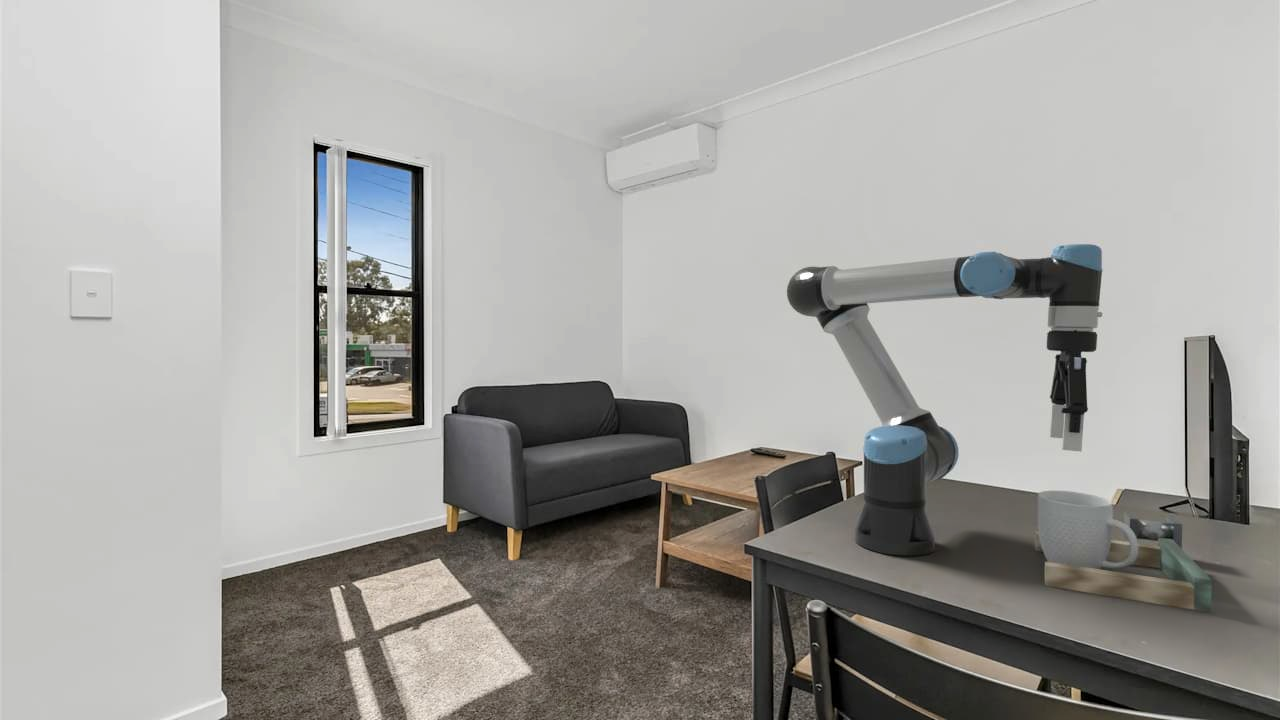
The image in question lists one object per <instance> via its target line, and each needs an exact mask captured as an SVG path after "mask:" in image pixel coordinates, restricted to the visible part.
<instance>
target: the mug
mask: <svg viewBox="0 0 1280 720" xmlns="http://www.w3.org/2000/svg"><path fill="white" fill-rule="evenodd" d="M1113 504H1114V503H1113V501H1111V500H1110V499H1108V498H1105V497H1102V496H1098V495H1095V494H1089V493H1085V492H1078V491H1070V490H1069V491H1068V490H1044V491H1040V492H1039V493H1038V494H1037V531H1038V532H1039V539H1040V544H1041V547H1042V550H1043V552H1042V553H1043V554H1044V556H1045V559H1046V560H1047V562H1052V563H1059V564H1066V565H1073V566H1080V567H1087V568H1093V569H1100V570H1101V568H1111V569H1122V568H1125V567H1129V566H1130V565H1133V564H1132V563H1133V562H1134V561H1135V559H1136V557H1137V555H1138V543H1139V542H1138V540H1137V538H1136V536H1135V534H1134V532H1133V531H1132V529H1131V528H1130V527H1128V526H1127V525H1126V524H1124V522H1122V521H1120V520H1117V519H1114V514H1113V513H1114V512H1113V509H1114V507H1113V506H1114V505H1113ZM1114 527H1116V528H1117V529H1120V530H1121V531H1123V533H1124V532H1125V534H1126V535H1127V537H1128V539H1129V542H1130V553H1129V556H1128V558H1127V559H1126V560H1124V561H1122V562H1113V561H1106V558H1107V555H1108V552H1109V549H1110V544H1111V540H1113V538H1112V537H1113V528H1114Z"/></svg>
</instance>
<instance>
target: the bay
mask: <svg viewBox="0 0 1280 720" xmlns="http://www.w3.org/2000/svg"><path fill="white" fill-rule="evenodd" d="M1034 532H1035V533H1034V550H1035V551H1036V552H1042V553H1044V552H1043V550H1042V547H1041V544H1040V539H1039V532H1038V529H1037V530H1034ZM1157 545H1158V546H1156V544H1150V545H1148V543H1142V544H1140V542H1138V555H1137V557H1136V559H1135V561H1134V562H1133V563H1132V564H1131V565H1136V566H1143V567H1149V568H1157V569H1160V570H1161V571H1162V572H1163V573H1164V575H1165V576H1166V577H1167V578H1160V577H1154V576H1149V575H1147V576H1146V575H1140V574H1133V573H1127V572H1121V571H1113V570H1112V571H1111V570H1106V569H1101V568H1100V569H1093V568H1087V567H1080V566H1073V565H1066V564H1059V563H1052V562H1048V561H1044V581H1043V582H1044V585H1045V587H1051V588H1058V589H1065V590H1071V591H1075V592H1081V593H1082V592H1083V593H1089V594H1095V595H1100V596H1101V595H1102V596H1106V597H1107V596H1108V597H1112V598H1113V597H1114V598H1119V599H1126V600H1132V601H1139V602H1143V603H1144V602H1145V603H1151V604H1157V605H1162V606H1169V607H1176V608H1181V609H1188V610H1194V611H1198V612H1199V611H1201V612H1206V613H1211V611H1212V588H1213V587H1212V586H1213V585H1212V583H1213V581H1212V578H1210V576H1209V575H1207V573H1205V572H1204V571H1203V569H1202V568H1201V567H1200V566H1199V565H1198V564H1197V563H1196V562H1195V561H1194V560H1193V559H1192V558H1191V557H1190V556H1189V554H1187V552H1185V551H1184V550H1183V549H1181V548H1180V547H1179V546H1178V545H1177V544H1176V543H1175V542H1174V541H1173V540H1172V539H1165V538H1158V541H1157ZM1129 553H1130V542H1124V540H1115V539H1112V540H1111V544H1110V549H1109V552H1108V555H1107V558H1106V561H1109V562H1114V563H1118V562H1122V561H1124V560H1126V559H1127V558H1128V556H1129Z"/></svg>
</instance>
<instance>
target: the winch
mask: <svg viewBox="0 0 1280 720" xmlns="http://www.w3.org/2000/svg"><path fill="white" fill-rule="evenodd" d="M1123 514H1124V515H1123V523H1124V524H1126V525H1127V526H1128V527H1130V528H1131V529H1132V531H1133V532H1134V534H1135V536H1136V538H1137V541H1138V540H1145V541H1153V542H1158V538H1165V539H1172V540H1173V541H1174V542H1175V543H1176V544H1177V545H1178V546H1179V547H1180V548H1181V549H1182V548H1183V523H1181V521H1180V520H1178V519H1177V518H1176V517H1175V516H1167V515H1166V516H1165V522H1164V521H1163V522H1162V521H1154V520H1145V519H1138V518H1137V516H1136V515H1135V514H1134V513H1133V512H1131V511H1124V513H1123ZM1123 541H1124V542H1129V539H1128V537H1127V535H1126V534H1125V532H1124V531H1123ZM1139 543H1140V542H1139ZM1140 544H1143V543H1142V542H1141V543H1140ZM1147 544H1148V543H1147ZM1148 545H1151V544H1148ZM1155 545H1156V544H1155ZM1156 546H1158V544H1157V545H1156ZM1182 550H1183V549H1182Z"/></svg>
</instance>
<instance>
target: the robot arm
mask: <svg viewBox="0 0 1280 720" xmlns="http://www.w3.org/2000/svg"><path fill="white" fill-rule="evenodd" d="M1102 254H1103V250H1102V248H1101V247H1100V246H1098V245H1096V244H1092V243H1091V244H1090V243H1089V244H1088V243H1077V244H1075V243H1074V244H1067V245H1062V244H1061V245H1058V246H1055V247H1054V248H1053V249H1052V253H1051V254H1050V257H1042V258H1023V259H1022V258H1016V257H1015V258H1014V257H1011V256H1009V255H1004V254H1002V253H1001V252H996V251H983V252H982V251H981V252H977V253H975V254H973V255H968V256H963V257H961V256H960V257H959V256H958V257H948V258H942V259H941V258H939V259H930V260H922V261H913V262H903V263H893V264H883V265H873V266H865V267H857V268H855V267H854V268H848V269H847V268H846V269H839V268H838V266H834V265H830V266H808V267H807V266H806V267H804V268H801V269H799V270H798V271H796V272H794V274H793V275H792V276H791V277H790V279H789V282H788V284H787V287H786V297H787V301H788V303H789V305H790V306H791V308H792V309H793V310H795V312H797V313H798V314H800V315H803V316H806V317H810V318H811V317H812V318H814V317H815V318H816V319H817V321H818V323H819V324H820V326H821V328H822V330H823V332H824V333H827V334H830V335H832V336H834V338H835V341H836V342H837V344H838V346H839V347H840V349H841V351H842V354H843V355H844V357H845V358H846V360H847V362H848V364H849V366H850V368H851V369H852V371H853V373H854V376H856V378H857V381H858V382H859V384H860V386H861V387H862V389H863V391H864V393H865V394H866V397H867V398H868V400H869V402H870V404H871V406H872V408H873V409H874V411H875V413H876V415H877V417H878V419H879V420H880V422H881V424H882V426H877V427H875V428H872V429H870V430H869V431H867V432H866V434H865V436H864V443H863V447H862V448H863V449H862V451H863V452H862V453H863V505H862V507H861V510H860V513H859V515H858V518H857V520H856V523H855V527H854V542H856V543H857V544H858V545H859V546H861V547H862V548H865V549H868V550H871V551H874V552H877V553H881V554H887V555H894V556H905V557H906V556H909V557H912V556H915V557H917V556H924V555H927V554H928V555H929V554H930V553H932V552H934V551H935V549H936V537H935V535H934V531H933V527H932V525H931V521H930V518H929V516H928V513H927V509H926V508H927V507H926V500H927V499H926V498H927V497H926V495H927V494H926V493H927V491H926V490H927V484H928V483H931V482H934V481H938V480H940V479H943V478H944V477H946V476H947V475H948V474H949V473H950V472H952V470H953V469H954V468H955V467H956V465H957V463H958V459H959V446H958V442H957V441H956V438H955V437H954V436H953V434H952V433H951V432H950V431H949V430H947V429H946V428H945V427H942V426H940V425H939V424H938V423H937V421H936V419H935V417H934V416H933V414H932V413H931V412H930V410H927V409H924V408H922V407H921V408H920V406H919V405H918V403H917V401H916V399H915V398H914V396H913V394H912V392H911V390H910V389H909V387H908V386H907V383H906V381H904V379H903V377H902V376H901V374H900V371H899V370H898V368H897V367H896V365H895V363H894V360H892V358H891V356H890V355H889V353H888V351H887V350H886V348H885V346H884V344H883V342H882V341H881V339H880V337H879V336H878V334H877V332H876V331H875V329H874V327H873V325H872V324H871V322H870V320H869V318H868V315H869V313H870V309H871V308H870V306H869V304H876V303H877V304H878V303H889V302H890V303H892V302H906V301H908V302H910V301H923V300H924V301H925V300H935V299H936V300H937V299H939V300H940V299H953V298H971V297H972V298H973V297H974V298H975V297H982V298H984V299H994V300H995V299H996V300H1004V299H1034V298H1035V299H1037V298H1040V299H1046V298H1049V304H1048V310H1047V311H1048V312H1047V313H1048V315H1047V327H1048V328H1050V330H1049V331H1048V332H1047V333H1046V334H1047V337H1046V349H1047V350H1048V351H1050V352H1051V351H1052V352H1053V351H1054V352H1060V353H1057V354H1056V355H1055V357H1054V358H1055V363H1054V372H1053V378H1052V384H1051V390H1050V395H1049V398H1050V400H1051V412H1050V414H1051V415H1050V428H1049V438H1051V439H1052V438H1053V439H1054V438H1055V439H1062V444H1061V445H1062V447H1061V449H1062V450H1063V451H1072V452H1082V447H1083V435H1084V433H1083V432H1084V421H1085V420H1084V418H1085V413H1087V412H1088V410H1089V408H1088V397H1087V396H1088V395H1087V393H1088V392H1087V391H1088V390H1087V363H1088V360H1087V358H1086V357H1082V353H1093V352H1095V351H1097V345H1098V343H1097V342H1098V333H1097V332H1096V331H1094V329H1097V328H1098V326H1099V319H1098V318H1101V317H1103V312H1102V311H1099V307H1100V298H1101V297H1100V296H1101V287H1102V286H1101V285H1102V276H1103V275H1102V274H1103V271H1104V269H1103V263H1102V262H1103V261H1102V260H1103V259H1102V258H1103V256H1102Z"/></svg>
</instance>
